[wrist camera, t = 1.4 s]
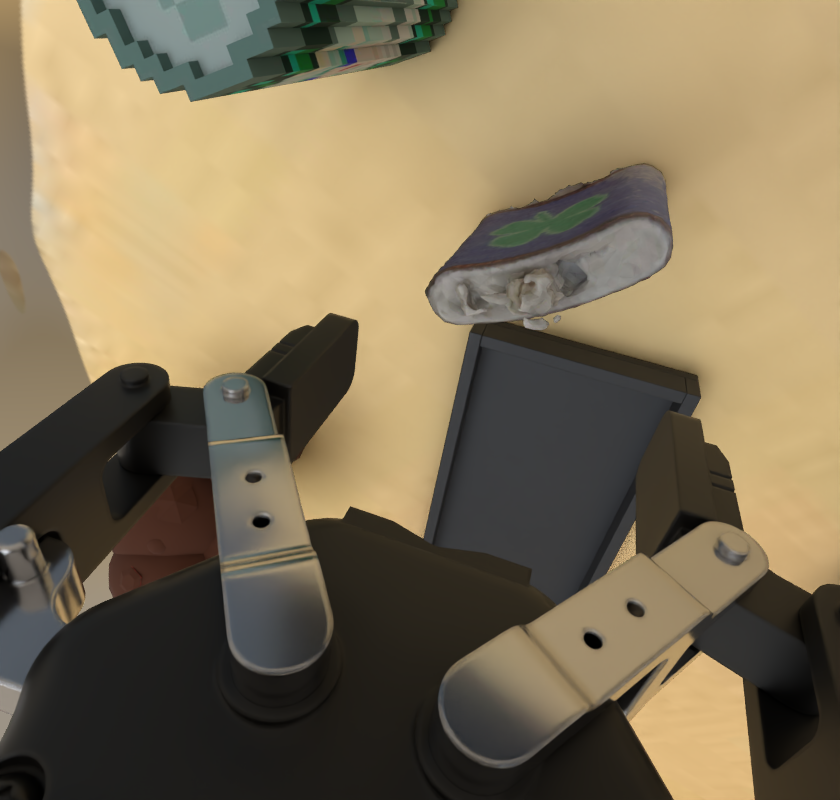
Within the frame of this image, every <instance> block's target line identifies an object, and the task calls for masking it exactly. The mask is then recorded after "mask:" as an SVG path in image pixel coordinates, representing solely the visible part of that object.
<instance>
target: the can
mask: <svg viewBox="0 0 840 800" xmlns="http://www.w3.org/2000/svg"><path fill="white" fill-rule="evenodd" d="M77 2H78V5H79V7H80V9H81V11H82V13H83V15H84V17H85V19H86V22H87V24H88V26H89V28H90V30H91V32H92V34H93V36H94V39H95V38H108V40H109V42H110V44H111V46H112V48H113V51H114V53H115V55H116V57H117V59H118V61H119V64H120V66H121V68H122V69H126V68H135V69H136V71H137V74H138V76H139V78H140V80H141V81H148V80H154V82H155V84H156V86H157V88H158V91H159V93H160V94H162V93H169V92H175V91H182V90H186V92H187V94H188V97H189V99H190V102H192V101H198V100H203V99H209V98H214V97H220V96H225V95H231V94H236V93H242V92H247V91H253V90H258V89H264V88H269V87H275V86H280V85H286V84H291V83H297V82H302V81H308V80H313V79H319V78H324V77H330V76H335V75H341V74H346V73H352V72H357V71H363V70H368V69H374V68H379V67H385V66H390V65H393V64H396V63H399V62H402V61H405V60H408V59H410V58H413V57H416V56H419V55H422V54H425V53H427V52H430V51H431V49H430V45H429V41H430V40H433V39H436V38H439V37H441V36H444V35H445V31H444V26H443V24H446V23H449V22H451V21H452V20H451V16H450V10H452V9H455V8H458V4H457V0H77Z"/></svg>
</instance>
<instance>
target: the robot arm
mask: <svg viewBox="0 0 840 800" xmlns="http://www.w3.org/2000/svg"><path fill="white" fill-rule="evenodd" d="M358 329H359V326H358V322H357V320H354V319H350V318H347V317H343V316H340V315H336V314H333V313H329V314H328V315H327V316H326V317H325V318H324V319H322V320H321V321H320V322H319V323H318V324H317V325H316V326H315V327H312V326H309V325H306V326H303V327H301V328H298V329H296V330H293V331H291V332H289V333H288V334H287V335H286V336H285V337H284V338H283V339H282V340H281V341H280V343H277V344H276V345H275V346H274V347H273V348H272V350H271V351H268V352H267V353H266V354H265V355H264V356H263V357H262V358H261V359H260V360H258V361H257V362H256V363H255V364H254V365H253V366H252V367H251V368H250V369H249V370H247V371H246V372H245V373H227V374H223V375H220V376H217V377H215V378H213V379H211V380H210V381H209V382H207V383H206V385H205V386H204V388H191V387H180V386H170V382H169V375H168V373H167V372H166V371H165V370H164V369H163V368H161V367H159V366H157V365H154V364H149V363H131V364H125V365H121V366H118V367H116V368H114V369H111V370H110V371H108V372H107V373H105V374H104V375H103V376H101V377H100V378H99V379H97V380H96V381H95V382H93V383H92V384H91V385H89V386H88V387H87V388H85V389H84V390H83V391H81V392H80V393H79V394H77V395H76V396H74V397H73V398H72V399H70V400H69V401H68V402H67V403H65V404H64V405H62V406H61V407H60V408H58V409H57V410H56V411H54V412H53V413H52V414H50V415H49V416H48V417H46V418H45V419H44V420H42V421H41V422H39V423H38V424H37V425H35V426H34V427H33V428H31V429H30V430H29V431H27V432H26V433H25V434H23V435H22V436H21V437H20V438H18V439H17V440H15V441H14V442H13V443H11V444H10V445H9V446H7V447H6V448H4V449H3V450H2V451H0V711H2V712H5V713H8V714H11V715H13V716H12V718H11V720H10V723H9V725H8V728H7V729H6V731H5V733H4V735H3V737H2V739H1V741H0V800H674V799H673V798H672V796H671V794H670V792H669V791H668V789H667V787H666V785H665V784H664V782H663V780H662V779H661V777H660V775H659V773H658V772H657V770H656V768H655V766H654V765H653V763H652V761H651V759H650V758H649V756H648V754H647V753H646V751H645V749H644V747H643V746H642V744H641V742H640V740H639V739H638V737H637V735H636V733H635V732H634V730H633V728H632V726H631V725H630V723H629V722H630V721H631V720H632V719H633V718H634V716H635V715H636V714H637V713H638V712H639V711H640V710H641V709H642V708H643V707H644V706H645V704H646V703H647V702H648V701H649V700H650V699H651V698H652V697H654V696H655V695H656V694H657V693H658V692H659V691H660V690H661V689H662V688H664V687H665V686H666V685H667V684H668V683H669V682H670V681H671V680H673V679H674V678H675V677H676V676H677V675H678V674H679V673H680V672H682V671H683V670H684V669H685V668H686V667H687V666H688V665H689V664H691V663H692V662H693V661H694V660H695V659H696V658H697V657H698V656H700V655H701V654H702V653H705V654H706V655H708V656H710V657H711V658H713V659H714V660H716V661H717V662H719V663H720V664H722V665H724V666H725V667H727V668H728V669H730V670H731V671H733V672H734V673H736V674H738V675H739V676H741V677H742V678H743V686H744V696H745V706H746V716H747V726H748V736H749V746H750V756H751V765H752V775H753V785H754V795H755V800H840V585H835V584H826V585H822V586H820V587H819V588H817V589H816V590H815V592H814V593H813V594H810V593H808V592H806V591H805V590H803V589H801V588H799V587H797V586H796V585H794V584H792V583H790V582H788V581H787V580H785V579H783V578H781V577H780V576H778V575H776V574H775V573H773V572H772V571H771V570H769V569H768V568H769V561H768V557H767V555H766V553H765V551H764V550H763V548H762V547H761V546H760V545H759V544H758V543H757V542H756V541H755V540H754V539H753V538H752V537H751V536H750V535H748V534H747V533H745V532H744V530H743V525H742V521H741V516H740V511H739V507H738V502H737V498H736V493H734V490H735V488H734V484H733V480H731V478H732V475H731V470H730V465H729V462H728V460H727V459H726V458H725V456H724V455H723V453H722V452H721V451H720V449H719V448H718V447H717V446H716V445H713V444H709V443H706V442H704V436H703V430H702V424H701V421H700V419H697V418H693V417H690V416H686V415H683V414H679V413H676V412H672V411H667V412H666V413H665V414H664V415H663V417H662V419H661V421H660V423H659V425H658V427H657V429H656V431H655V433H654V435H653V437H652V439H651V441H650V443H649V445H648V447H647V449H646V451H645V453H644V455H643V457H642V459H641V461H640V464H639V467H638V471H637V475H636V555H635V556H633V557H632V558H630V559H629V560H627V561H626V562H624V563H623V564H621V565H619V566H618V567H616V568H615V569H613V570H612V571H610V572H609V573H607V574H605V575H604V576H602V577H601V578H599V579H598V580H596V581H595V582H593V583H592V584H590V585H588V586H587V587H585V588H584V589H582V590H581V591H579V592H578V593H576V594H575V595H573V596H571V597H570V598H568V599H567V600H565V601H564V602H562V603H561V604H559V605H556V604H555V603H554V602H553V601H552V600H551V599H550V598H549V597H548V596H546V595H545V594H544V593H542V592H541V591H540V590H538V589H537V588H535V587H534V586H532V585H531V584H530V578H531V573H532V569H531V568H528V567H525V566H522V565H519V564H516V563H513V562H511V561H508V560H505V559H502V558H499V557H496V556H493V555H490V554H487V553H482V552H475V551H467V550H459V549H452V548H444V547H438V546H435V545H432V544H430V543H429V542H427V541H425V540H424V539H422V538H420V537H419V536H417V535H415V534H414V533H412V532H410V531H409V530H407V529H405V528H404V527H402V526H400V525H399V524H397V523H395V522H394V521H391V520H388V519H386V518H383V517H380V516H377V515H374V514H371V513H368V512H365V511H362V510H359V509H356V508H354V507H351V506H350V508H349V509H348V511H347V513H346V515H345V516H344V518H343V519H338V518H322V519H313V520H307V521H305V518H304V514H303V510H302V506H301V502H300V498H299V494H298V490H297V486H296V482H295V478H294V474H293V470H292V466H291V464H292V462H293V461H294V460H295V459H296V457H297V456H298V455H299V453H300V452H301V451H302V450H303V448H304V447H305V446H306V444H307V443H308V442H309V440H310V439H311V438H312V437H313V435H314V434H315V433H316V431H317V430H318V429H319V428H320V426H321V425H322V424H323V422H324V421H325V420H326V419H327V417H328V416H329V415H330V413H331V412H332V411H333V409H334V408H335V407H336V406H337V404H338V403H339V402H340V400H341V399H342V398H343V397H344V395H345V394H346V393H347V391H348V389H349V387H350V385H351V383H352V380H353V376H354V372H355V362H356V351H357V340H358ZM116 452H117V454H116V455H115V456H113V455H114V454H115V453H116ZM112 456H113V458H111V457H112ZM110 458H111V459H110ZM109 459H110V460H109ZM108 460H109V461H108ZM177 476H182V477H196V478H210V479H211V480H212V491H213V501H214V511H215V521H216V532H217V542H218V552H219V555H216V556H214V557H212V558H209V559H207V560H204V561H202V562H199V563H197V564H195V565H192V566H190V567H187V568H185V569H182V570H180V571H177V572H175V573H173V574H170V575H168V576H165V577H163V578H160V579H158V580H156V581H153V582H151V583H148V584H146V585H143V586H141V587H139V588H136V589H134V590H131V591H129V592H126V593H124V594H122V595H119V596H117V597H114V598H112V599H109V600H107V601H104V602H102V603H100V604H98V605H96V606H94V607H92V608H90V609H88V610H87V611H85V612H83V613H82V614H80V615H78V614H79V612H80V611H81V609H82V607H83V604H84V601H85V590H84V586H83V582H84V581H85V580H86V579H87V578H88V577H89V575H90V574H91V573H92V572H93V571H94V570H95V569H96V568H97V566H98V565H99V564H100V563H101V562H102V561H103V560H104V559H105V557H106V556H107V555H108V554H109V553H110V552H111V551H112V550H113V548H114V547H115V546H116V545H117V544H118V543H119V542H120V541H121V539H122V538H123V537H124V536H125V535H126V534H127V533H128V532H129V530H130V529H131V528H132V527H133V526H134V525H135V524H136V523H137V522H138V520H139V519H140V518H141V517H142V516H143V515H144V514H145V513H146V511H147V510H148V509H149V508H150V507H151V506H152V505H153V504H154V502H155V501H156V500H157V499H158V498H159V497H160V496H161V495H162V493H163V492H164V491H165V490H166V489H167V488H168V487H169V486H170V484H171V483H172V482H173V481H174V480H175V479H176V478H177ZM77 615H78V616H77Z"/></svg>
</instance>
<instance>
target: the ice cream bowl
mask: <svg viewBox="0 0 840 800" xmlns="http://www.w3.org/2000/svg"><path fill="white" fill-rule="evenodd" d="M303 449H304V448H303ZM302 451H303V450H302ZM302 451H301V452H300V453H299V455H298V456H297V457H296V459H295V460H297V459H298V458H299V457H300V455H301V453H302ZM295 460H294V461H295ZM112 551H113V553H114V554H113V556H112V559H111V562H110V564H109V589H110V591H111V593H112V596H113V598H114V597H117V596H119V595H122V594H124V593H126V592H129V591H131V590H134V589H136V588H139V587H141V586H143V585H146V584H148V583H151V582H153V581H156V580H158V579H160V578H163V577H165V576H168V575H170V574H173V573H175V572H177V571H180V570H182V569H185V568H187V567H190V566H192V565H195V564H197V563H199V562H202V561H204V560H207V559H209V558H212V557H214V556H216V555H219V552H218V542H217V532H216V521H215V511H214V501H213V491H212V480H211V479H210V478H196V477H182V476H177V478H176V479H175V480H174V481H173V482H172V483H171V484H170V486H169V487H168V488H167V489H166V490H165V491H164V492H163V493H162V495H161V496H160V497H159V498H158V499H157V500H156V501H155V502H154V504H153V505H152V506H151V507H150V508H149V509H148V510H147V511H146V513H145V514H144V515H143V516H142V517H141V518H140V519H139V520H138V522H137V523H136V524H135V525H134V526H133V527H132V528H131V529H130V530H129V532H128V533H127V534H126V535H125V536H124V537H123V538H122V539H121V541H120V542H119V543H118V544H117V545H116V546H115V547H114V548H113V550H112Z"/></svg>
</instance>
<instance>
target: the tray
mask: <svg viewBox="0 0 840 800" xmlns="http://www.w3.org/2000/svg"><path fill="white" fill-rule="evenodd" d="M700 399H701V394H700V388H699V382H698V376H697V375H693V374H689V373H686V372H682V371H679V370H675V369H671V368H668V367H664V366H661V365H657V364H653V363H650V362H646V361H643V360H639V359H635V358H632V357H628V356H625V355H621V354H617V353H614V352H610V351H607V350H603V349H599V348H596V347H592V346H589V345H585V344H581V343H578V342H574V341H571V340H567V339H563V338H560V337H556V336H553V335H549V334H545V333H542V332H538V331H534V330H531V329H527V328H524V327H520V326H516V325H513V324H509V323H506V322H496V323H485V324H474V325H473V327H472V329H471V331H470V333H469V337H468V342H467V346H466V351H465V355H464V360H463V364H462V369H461V373H460V377H459V382H458V386H457V391H456V395H455V400H454V404H453V409H452V413H451V418H450V422H449V427H448V431H447V436H446V440H445V445H444V449H443V453H442V458H441V462H440V467H439V471H438V476H437V480H436V485H435V489H434V494H433V498H432V503H431V507H430V512H429V516H428V521H427V525H426V530H425V534H424V538H423V539H424V540H425V541H427V542H429V543H430V544H432V545H435V546H438V547H444V548H452V549H459V550H467V551H475V552H482V553H487V554H490V555H493V556H496V557H499V558H502V559H505V560H508V561H511V562H513V563H516V564H519V565H522V566H525V567H528V568H531V569H532V573H531V578H530V584H531V585H532V586H534V587H535V588H537V589H538V590H540V591H541V592H542V593H544V594H545V595H546V596H548V597H549V598H550V599H551V600H552V601H553V602H554V603H555V604H556V605H559V604H561V603H562V602H564V601H565V600H567V599H568V598H570V597H571V596H573V595H575V594H576V593H578V592H579V591H581V590H582V589H584V588H585V587H587V586H588V585H590V584H592V583H593V582H595V581H596V580H598V579H599V578H601V577H602V576H604V575H605V574H606V573H607V572H608V570H609V568H610V566H611V564H612V562H613V560H614V559H615V557H616V555H617V553H618V551H619V549H620V547H621V546H622V544H623V542H624V540H625V538H626V536H627V534H628V533H629V531H630V529H631V527H632V525H633V523H634V521H635V519H636V475H637V471H638V467H639V464H640V461H641V459H642V457H643V455H644V453H645V451H646V449H647V447H648V445H649V443H650V441H651V439H652V437H653V435H654V433H655V431H656V429H657V427H658V425H659V423H660V421H661V419H662V417H663V415H664V414H665V413H666V412H667V411H672V412H676V413H679V414H683V415H686V416H690V417H691V415H692V414H693V412H694V410H695V408H696V406H697V404H698V402H699V401H700Z"/></svg>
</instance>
